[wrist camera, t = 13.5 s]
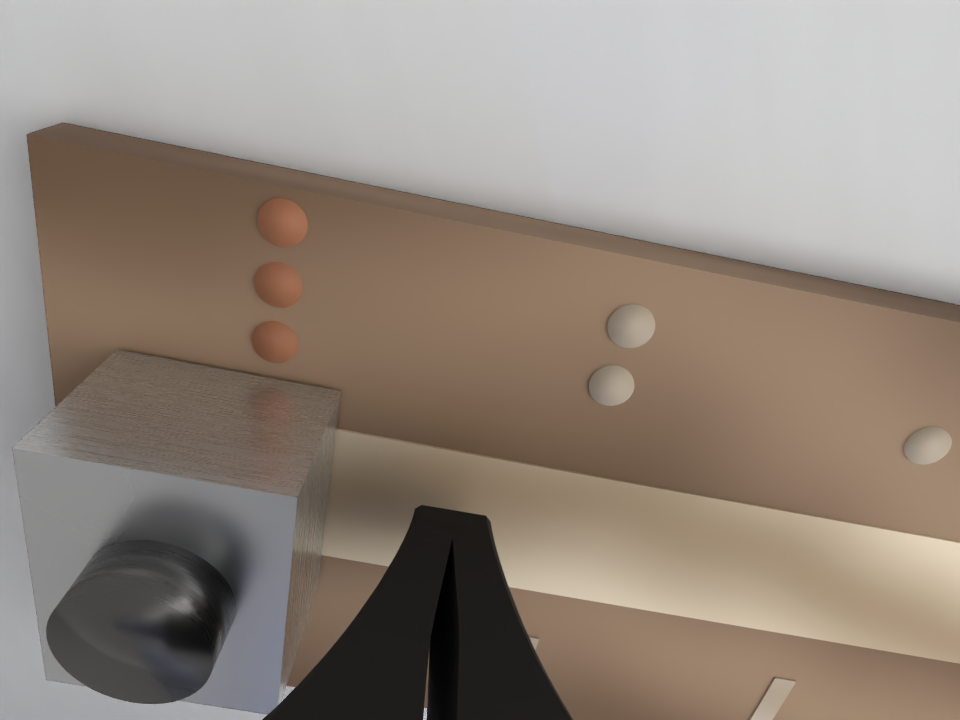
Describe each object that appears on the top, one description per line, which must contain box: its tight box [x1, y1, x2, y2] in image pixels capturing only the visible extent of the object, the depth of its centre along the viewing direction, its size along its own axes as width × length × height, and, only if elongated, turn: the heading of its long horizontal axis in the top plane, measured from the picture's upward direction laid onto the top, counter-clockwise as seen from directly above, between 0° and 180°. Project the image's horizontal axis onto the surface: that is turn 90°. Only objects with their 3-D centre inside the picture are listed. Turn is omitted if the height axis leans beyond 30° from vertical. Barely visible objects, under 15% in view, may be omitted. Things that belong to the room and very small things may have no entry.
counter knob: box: [12, 350, 341, 714], centre depth 12 cm, size 5×4×4 cm
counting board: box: [27, 123, 960, 720], centre depth 15 cm, size 12×26×1 cm, turn 79°
